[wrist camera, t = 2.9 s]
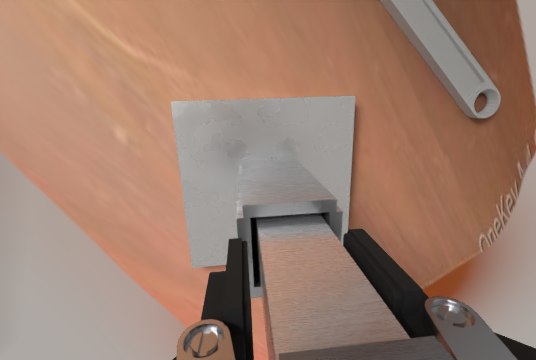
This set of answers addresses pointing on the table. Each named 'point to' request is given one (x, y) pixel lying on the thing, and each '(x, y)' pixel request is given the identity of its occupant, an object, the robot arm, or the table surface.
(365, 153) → the table surface
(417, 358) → the column
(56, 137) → the table surface
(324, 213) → the stand base
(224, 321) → the robot arm
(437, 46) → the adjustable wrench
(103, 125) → the table surface
